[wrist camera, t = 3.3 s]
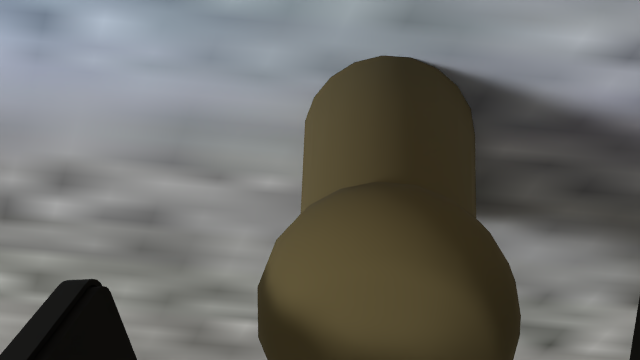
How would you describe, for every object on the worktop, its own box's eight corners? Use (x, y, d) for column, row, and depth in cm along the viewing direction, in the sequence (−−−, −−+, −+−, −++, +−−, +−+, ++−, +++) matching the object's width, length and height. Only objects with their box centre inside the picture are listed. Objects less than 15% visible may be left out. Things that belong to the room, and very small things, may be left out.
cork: (275, 95, 19) (151, 288, 9) (441, 25, 17) (505, 171, 7) (343, 233, 21) (302, 508, 11) (497, 183, 19) (604, 456, 10)
